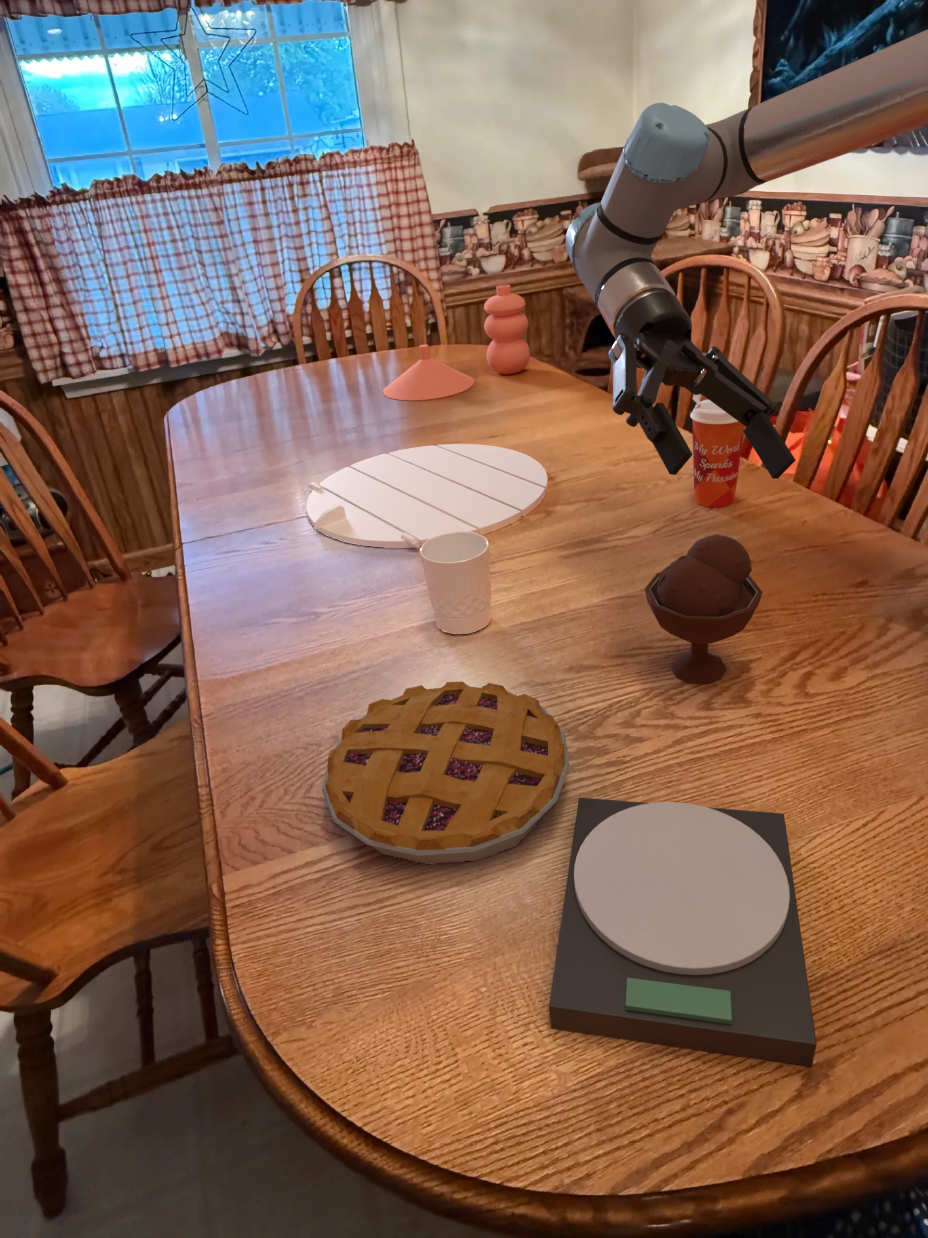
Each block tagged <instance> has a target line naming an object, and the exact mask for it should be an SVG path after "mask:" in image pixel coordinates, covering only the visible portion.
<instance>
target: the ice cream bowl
mask: <svg viewBox="0 0 928 1238" xmlns="http://www.w3.org/2000/svg"><path fill="white" fill-rule="evenodd" d="M752 570H753V569H752V561H751V557H750V554H749V552H748V551H747V549H746V548H745V547H744V545H743V544H742V543H740V542H739V541H737V540H736V539H735V538H733V537H730V536H726V535H722V534H719V533H715V534H712V535H707V536H704V537H703V538H700V539H698V540H696V541H695V542H693V544H692V546H691V547H690V548H689V549H688V551H687V553H686V555H685V554H684V555H680V556H679V557H678V558H676V559H675V560H674V561H672V562H670V564H669V565H667V566H666V567H665V568H663V569H662V570H661V571H659V572H656V574H654V576H653V577H652V579H651V580H650V581H649V582H648V583H647V585H646V586H645V587H644V594H645V597H646V598H645V599H646V601H647V604H648V606H649V608H650V610H651V612H652V613H653V615H654V618H655V619H656V622H657V623H658V625H659V627H660V628H661V629H663V630H664V631H665V632H667V633H668V634H669V635H671V636H674V637H676V638H679V639H681V640H683V641H685V642H688V643H690V650H688V651H685V652H683V653H680V654H677V655H676V657H675V659H674V660H673V662H672V663H671V666H670V669H671V670H672V673H673V675H674V677H675V678H678V679H679V680H681V681H683V682H685V683H688V684H694V685H709V684H712V683H715V682H717V681H721V680H722V679H723V677H724V675H725V673H726V672H727V667H726V665H725V663H724V661H723V660H722V658H721V656H718V655H716V654H714V653H711V652H709V645H710V644H714V643H717V642H721V641H722V640H726V639H729V638H731V637H734V636H736V635H737V634H739V633H741V632H742V631H744V629H745V628H746V627H747V625H748V623H749V622H750V620H751V619H752V617H753V615H754V614H755V612H756V610H757V608H758V607H759V604H760V602H761V598H762V595H763V593H764V591H762V589H761V588H760V587H759V585H758V584H757V583H756V581H755V580H754V579H753V577H751V575H750V574H751V572H752Z"/></svg>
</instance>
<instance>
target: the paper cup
mask: <svg viewBox="0 0 928 1238" xmlns="http://www.w3.org/2000/svg"><path fill="white" fill-rule="evenodd" d="M689 416H690V418H691V420H692V454H693V455H692V459H693V460H692V461H693V464H692V465H693V495H694V501H696V502H695V503H696V504H697V503H698V504H697V505H699V506H702V507H707V508H723V507H727V506H729V505H731V504H733V503H734V501H735V497H736V490H737V485H738V477H739V470H740V462H741V455H742V448H743V440H744V432H743V431H744V429H745V426H744V425H743V424H741V423H740V422H739V421H737V420H736V419H735V418H733V417H732V416H730V415H729V414H728V413H726V412H725V411H724V410H722V409H721V408H720V407H718V406H717V405H715V404H714V403H713V402H711V401H710V400H709V399H703V400H701V401H698V402H696V404H695V406H694V408H693V410H692V411H691V412H690V414H689Z"/></svg>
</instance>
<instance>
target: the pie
mask: <svg viewBox="0 0 928 1238" xmlns="http://www.w3.org/2000/svg"><path fill="white" fill-rule="evenodd" d="M569 769H570V760H569V751H568V746H567V739H566V733H565V731H563V729H562V728H561V726H559V724H558V723H557V721H556V719H554V717H553V716H552V715H551V714H550V713H549V712H548V711H547V710H546V709H545V708H544V707H543V706H542V705H541V703H540V702H539V699H537V698H535V697H533V696H530V695H528V694H526V693H522V694H519V695H517V694H515V693H513V692H510V691H508V690H507V689H506V688H505V686H504V685H503V684H498V683H497V684H496V683H491V682H488V683H486V684H485V685H483V686H482V687H476V686H470V685H468V684H467V683H466V682H464V681H446V683H444V685H443V686H441V687H435V688H425V687H424V686H423V684H421V685H416V686H412V687H408V688H405V689H404V691H403V693H402V695H400V696H398V697H397V696H396V697H395V698H392V699H386V698H381V699H379V700H376V701H373V702H370V703H369V704H368V707H367V711H366V714H365V715H363V716H362V717H360V718H358V719H350V720H349V721H348V722H347V723H346V724H345V726H343V728H342V729H341V739H340V740H339V741H338V743H337V744H336V745H335V747H334V748H332V749H331V750H330V752H329V754H328V757H327V764H326V770H325V772H324V773H325V774H324V778H323V781H322V787H321V791H322V794H323V797H324V800H325V803H326V805H327V808H328V811H329V813H330V817H331V820H332V821H333V823H335V824H336V825H338V826H339V827H341V828H342V829H344V830H345V831H346V832H348V833H350V834H351V835H352V836H354V837H355V838H357V839H358V840H360V841H362V843H364V844H365V845H367V846H370V847H371V848H373V849H374V848H375V849H374V850H376V851H377V852H379V853H381V854H382V855H383V856H387V855H389V856H388V857H391V856H394V857H393V858H396V857H398V858H397V859H400V858H403V859H402V860H405V859H408V860H407V861H409V860H413V861H412V862H414V861H417V862H416V863H418V862H421V863H420V864H423V863H426V864H425V865H427V864H430V865H432V864H431V863H444V864H448V863H447V862H457V863H462V862H461V861H471V862H475V861H474V860H478V861H480V860H479V859H481V858H483V859H485V858H484V857H486V858H488V857H487V856H489V857H491V856H490V855H492V854H494V855H496V854H495V853H497V854H499V853H498V852H500V853H502V852H501V851H503V852H505V851H504V850H506V849H508V850H510V849H509V848H511V849H514V848H515V847H516V846H517V845H518V844H520V842H521V841H522V840H523V839H524V838H525V837H526V836H528V834H529V833H530V832H531V831H532V830H533V829H534V828H535V827H536V826H537V825H538V824H539V823H540V821H541V819H542V817H543V816H544V814H545V813H547V812H548V811H549V809H551V808H552V807H553V806H554V805H555V804H556V803H557V801H558V799H559V795H560V794H561V790H562V788H563V785H564V782H565V780H566V778H567V774H568V772H569ZM537 823H538V824H537ZM536 824H537V825H536ZM535 825H536V826H535ZM534 826H535V827H534ZM533 827H534V828H533ZM532 828H533V829H532ZM531 829H532V830H531ZM530 830H531V831H530ZM529 831H530V832H529ZM528 832H529V833H528ZM527 833H528V834H527ZM524 836H525V837H524ZM523 837H524V838H523ZM513 847H514V848H513ZM506 851H507V850H506ZM492 856H493V855H492ZM481 860H482V859H481Z"/></svg>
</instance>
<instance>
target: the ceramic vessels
mask: <svg viewBox="0 0 928 1238" xmlns="http://www.w3.org/2000/svg"><path fill="white" fill-rule="evenodd" d="M495 288H496V289H495V290H496V294H495V295H493V296H491V297H489V298H488V299H487V300H486V301H485V302H484V306H483V310H484V311H485V312H486V314H487V315H488V316H487V317H486V319H485V320H484V325H483V328H484V332H485V334H486V336H487V337H489V338H490V339H492V340H491V342H490V343H489V345H488V346H487V350H486V360H487V363H488V365H489V367H490V368H491V369H492V370H493V371H495V373H498V374H499V375H514V374H517V373H520V372H521V371H522V370H523V369H524V368H526V366H527V365H528V363H529V362H530V358H531V350H530V347H529V344H528V342H527V341H526V340H525V339H524V338H523V335H524V334H525V333H526V332H527V330H528V328H529V319H528V317H527V315H526V314H525V313H523V312H522V311H524V309H525V306H526V305H527V304H526V300H525V298H523V296H521V295H520V294H516V293H512V291H511V285H510V284H501V285H497V286H496V287H495ZM418 348H419V349H418V351H419V355H420V359H419V360H418V361H417V362H415V363H414V364H413V365H412V366H410V367H409V368H408V369H407V370H405V371H404V372H403V373H402V374H399V376H398V377H397V378H395V379H394V380H393V381H392V382H390V383H389V384H387V386H385V387H384V389H383V391H382V393H383V395H384V396H385V397H387V398H389V399H393V400H397V401H425V400H426V401H427V400H436V399H441V398H446V397H450V396H453V395H456V394H460V393H462V392H464V391H467V390H469V389H470V388H472V387H473V386H474V384H475V383H476V382H475V379H474V378H473V377H471V376H470V375H467V374H465V373H463V372H461V371H459V370H457V369H455V368H453V367H451V366H448V365H446V364H444V363H442V362H440V361H437V360H435V359H433V358H431V357H430V348H429V344H420V345H419V346H418Z"/></svg>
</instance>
